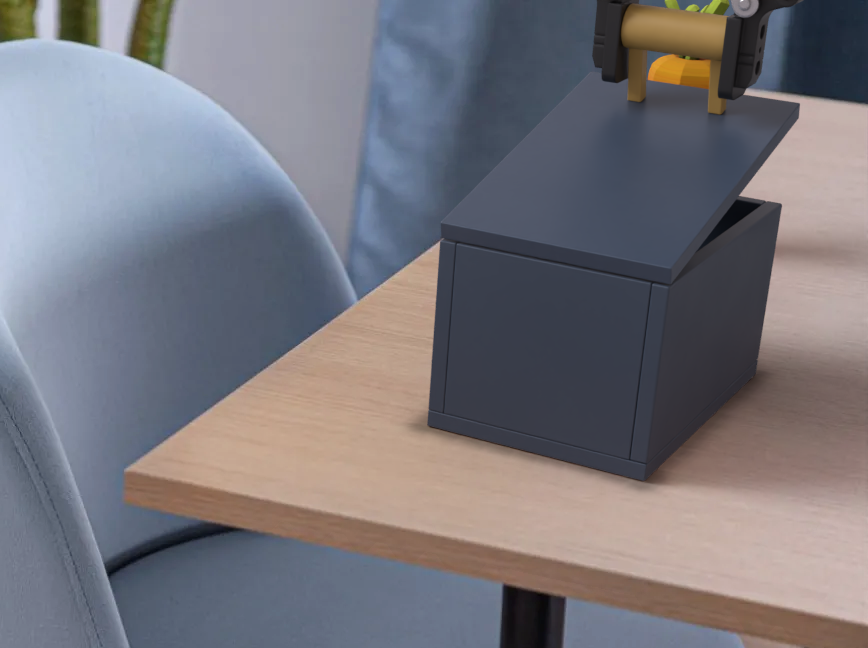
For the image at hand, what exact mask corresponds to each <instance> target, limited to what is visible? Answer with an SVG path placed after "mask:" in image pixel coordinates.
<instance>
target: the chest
mask: <svg viewBox="0 0 868 648" xmlns="http://www.w3.org/2000/svg"><path fill="white" fill-rule="evenodd" d="M782 209H783V204H782V203H781V202H776V201H770V200H769V201H768V200H765V199H759V198H754V197H749V196H742V195H739V196H738V198H737V199H736V200H735V202H734V203H733V204H732V205H731V207H730V208H729V209H728V211H727V212H726V213H725V215H724V216H723V217H722V218H721V220H720V221H719V222H718V224H717V225H716V226H715V228H714V229H713V230H712V231H711V233H710V234H709V235H708V237H707V238H706V239H705V241H704V242H703V243H702V244H701V246H700V247H699V248H698V250H697V251H696V252H695V254H694V255H693V256H692V257H691V259H690V260H689V261H688V263H687V264H686V265H685V267H684V268H683V269H682V270H681V272H680V273H679V274H678V276H677V277H676V278H675V280H674V281H673V282H672V283H671V284H665V283H660V282H655V281H650V280H646V279H641V278H636V277H631V276H626V275H621V274H616V273H611V272H606V271H601V270H596V269H592V268H587V267H582V266H577V265H572V264H567V263H562V262H557V261H552V260H547V259H542V258H538V257H533V256H528V255H523V254H518V253H513V252H508V251H503V250H498V249H493V248H488V247H484V246H479V245H474V244H469V243H464V242H459V241H454V240H449V239H444V238H441V240H440V241H439V249H438V250H439V252H438V264H437V265H438V267H437V281H436V295H435V309H434V323H433V338H432V351H431V366H430V379H429V380H430V382H429V396H428V410H427V423H426V425H427V426H428V427H431V428H435V429H439V430H443V431H447V432H451V433H455V434H458V435H462V436H467V437H470V438H473V439H477V440H482V441H485V442H490V443H494V444H497V445H501V446H506V447H509V448H512V449H517V450H521V451H525V452H529V453H533V454H537V455H540V456H544V457H549V458H553V459H556V460H560V461H564V462H568V463H571V464H576V465H580V466H583V467H587V468H590V469H591V468H592V469H595V470H599V471H602V472H603V471H604V472H607V473H611V474H614V475H619V476H623V477H626V478H630V479H635V480H638V481H642V482H645V481H646V480H647V479H648V478H650V477H651V475H653V474H654V472H656V471H657V470H658V468H660V467H661V466H662V465H663V464H665V462H666V461H667V460H668V459H669V458H670V457H671V456H672V455H673V454H674V453H675V452H676V451H677V450H679V449H680V448H681V447H682V446H683V445H684V443H686V442H687V441H688V440H689V439H690V438H691V437H692V436H693V435H694V434H695V433H696V432H697V431H698V430H699V429H700V428H702V426H704V425H705V424H706V423H707V422H708V421H709V420H710V419H711V418H712V417H713V416H714V415H715V414H716V413H717V412H718V411H719V410H720V409H721V408H722V407H723V406H724V405H725V404H727V402H728V401H729V400H730V399H732V397H733V396H735V394H737V393H738V392H739V391H740V390H741V389H742V388H743V387H744V386H745V385H746V384H747V383H748V382H749V381H750V380H752V378H753V377H754V376H756V374H757V369H758V363H759V361H758V359H759V356H760V350H761V349H760V348H761V344H762V343H761V341H762V336H763V329H764V324H765V317H766V310H767V304H768V297H769V290H770V285H771V278H772V273H773V265H774V260H775V253H776V248H777V247H776V246H777V241H778V233H779V228H780V222H781V215H782Z"/></svg>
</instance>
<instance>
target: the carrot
mask: <svg viewBox="0 0 868 648" xmlns="http://www.w3.org/2000/svg"><path fill="white" fill-rule="evenodd" d="M664 4H665V8H672V9H679V10H681V8H680V5H679V2H678V1H677V0H664ZM729 7H730V0H712V1H711V2H710V3H709V4H707V5H705V6H704V7H703V8H702V9H701V7H699V5H698V4H694V3H693V4H690V5H688V6H687V7H686V8H685V10H687V11H694V12H702V13H709V14H717V15H725V13H726V12H727V10H728V9H729ZM710 62H711V60H709V59H702V58H695V57H688V56H681V55H674V54H666V55H663V56H661V57H660V56H659V57H658V58H657V59H655V60H654V61H653V62H652V63H651V65H650V66H649V67H650V68H649V71H648V75H647V80H651V81H657V82H664V83H671V84H677V85H684V86H690V87H697V88H704V89H709V80H710Z"/></svg>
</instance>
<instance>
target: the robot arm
mask: <svg viewBox="0 0 868 648" xmlns="http://www.w3.org/2000/svg"><path fill="white" fill-rule="evenodd" d="M803 1H804V0H730V3H731V8H732V11H733V14H731V15H728V16H729V17H727V20H726V28H725V36H724V44H723V52H722V60H721V68H720V76H719V84H718V98H722V99H728V100H735V99H737V98H739V97H740V96H742V95H745V93H746V90H747V89H748V88H750V87H752V86H753V85H755V84H756V83H757V81H758V80H759V78H760V76H761V75H762V70H763V65H764V64H763V63H764V61H763V60H764V56H765V49H766V43H767V42H766V41H767V33H768V28H769V27H768V26H769V20H770V17H771V15H772V14H773V12H774V11H776V10H780V9H784V8H788V9H789V8H791V7H794V6H795V5H797V4H799V3H801V2H803ZM633 3H634V4H640V0H596V9H595V11H596V12H595V22H594V30H593V31H594V32H593V44H592V54H591V57H592V61H593V65H594V67H595V68H596V69H601V72H600V73H601V77H602V80H603V81H605V82H612V83H619V82H621V81H623V80H625V79H627V78H628V63H629V48H626V47H624V46H623V44H622V41H621V27H622V21H623V17H624V14H625V12H626V10H627V8H628V6H629V5H630V4H633Z"/></svg>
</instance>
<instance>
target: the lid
mask: <svg viewBox="0 0 868 648" xmlns="http://www.w3.org/2000/svg"><path fill="white" fill-rule="evenodd" d="M729 16H730V15H725V14H724V15H717V14H709V13H702V12H700V11H699V12H694V11H687V10H686V9H680V10H679V9H672V8H667V7H663V6H658V5H657V6H656V5H649V4H641V3H639V4H634V3H633V4H630V5H629V6H628V8H627V10H626V12H625V14H624V17H623V21H622V27H621V41H622V44H623V46H624V47H626V48H629V63H628V78H627V79H625V80H623V81H621V82H619V83H612V82H605V81H603V80H602V77H601V73H602V72H599V71H598V72H597V71H590V72H589V73H588V74H587V75H586V76H585V77H584V78H583V79H582V80H581V81H580V82H579V83H578V84H577V85H576V86H575V87H574V88H573V89H572V90H571V91H570V92H569V93H568V94H567V95H566V96H565V97H564V98H563V99H562V100H561V101H560V102H559V103H558V104H557V105H556V106H555V107H554V108H553V109H551V111H550V112H549V113H548V114H547V115H546V116H545V117H544V118H543V119H542V120H541V121H540V122H539V123H538V124H536V126H535V127H534V128H533V129H532V130H531V131H530V132H529V133H528V134H527V135H526V136H525V137H524V138H523V139H522V140H521V141H520V142H519V143H518V144H517V145H516V146H515V147H514V148H513V149H512V150H511V151H510V152H509V153H508V154H507V155H506V156H505V157H504V158H503V159H502V160H501V161H500V162H499V163H498V164H497V165H496V166H495V167H494V168H492V170H491V171H490V172H489V173H488V174H487V175H486V176H485V177H484V178H483V179H482V180H481V181H480V182H479V183H478V184H477V185H476V186H475V187H474V188H473V189H472V190H471V191H470V192H469V193H468V194H467V195H466V196H465V197H464V198H463V199H462V200H461V201H460V202H459V203H458V204H457V205H456V206H455V207H454V208H453V209H452V210H451V211H450V212H449V213H448V214H447V215H446V216H445V217H444V218H443V219H441V221H440V223H439V224H440V238H441V239H449V240H454V241H459V242H464V243H469V244H474V245H479V246H484V247H488V248H493V249H498V250H503V251H508V252H513V253H518V254H523V255H528V256H533V257H538V258H542V259H547V260H552V261H557V262H562V263H567V264H572V265H577V266H582V267H587V268H592V269H596V270H601V271H606V272H611V273H616V274H621V275H626V276H631V277H636V278H641V279H646V280H650V281H655V282H660V283H665V284H671V283H672V282H673V281H674V280H675V278H676V277H677V276H678V274H679V273H680V272H681V270H682V269H683V268H684V267H685V265H686V264H687V263H688V261H689V260H690V259H691V257H692V256H693V255H694V254H695V252H696V251H697V250H698V248H699V247H700V246H701V244H702V243H703V242H704V241H705V239H706V238H707V237H708V235H709V234H710V233H711V231H712V230H713V229H714V228H715V226H716V225H717V224H718V222H719V221H720V220H721V218H722V217H723V216H724V215H725V213H726V212H727V211H728V209H729V208H730V207H731V205H732V204H733V203H734V202H735V200H736V199H737V198H738V196H741V194H742V193H743V191H744V190H745V189H746V188H747V186H748V185H749V183H750V182H752V179H753V178H754V176H756V174H758V172H759V171H760V170H761V168H762V167H763V165H764V164H765V163H766V161H767V160H768V159H769V157H770V156H771V155H772V154H773V152H774V151H775V150H776V148H777V147H778V146H779V145H780V143H781V142H782V141H783V140H784V138H785V137H786V136H787V134H788V133H789V132H790V130H791V129H792V128H793V126H795V124H796V123H797V121H798V120H799V119H800V109H801V103H800V102H796V101H788V100H781V99H775V98H769V97H763V96H756V95H749V94H743V95H742V96H740V97H739V98H737V99H735V100H728V99H722V98H718V84H719V76H720V68H721V60H722V52H723V44H724V36H725V28H726V20H727V17H729ZM648 52H655V53H661V54H667V55H671V54H674V55H681V56H688V57H695V58H702V59H709V60H711V62H710V80H709V89H704V88H697V87H690V86H684V85H677V84H671V83H664V82H657V81H651V80H648V79H647V78H648V75H647V73H648V72H647V70H648Z"/></svg>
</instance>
